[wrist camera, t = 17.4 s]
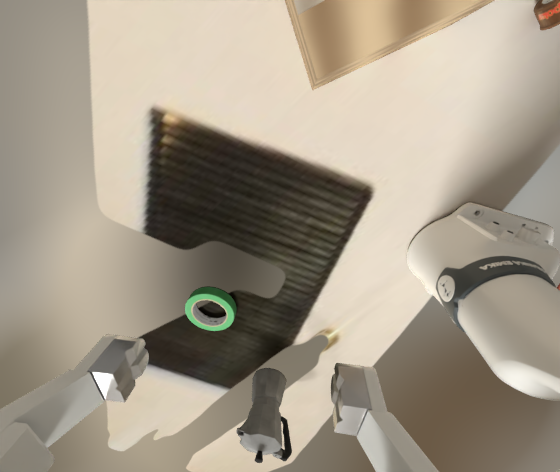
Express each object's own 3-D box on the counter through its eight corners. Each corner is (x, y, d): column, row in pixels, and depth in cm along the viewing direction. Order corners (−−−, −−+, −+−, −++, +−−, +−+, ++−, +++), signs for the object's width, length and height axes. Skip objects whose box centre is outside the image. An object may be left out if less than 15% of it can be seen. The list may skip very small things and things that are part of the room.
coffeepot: (240, 373, 67) (220, 456, 51) (261, 358, 63) (247, 442, 48) (282, 399, 71) (275, 483, 55) (305, 386, 67) (304, 472, 51)
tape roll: (239, 291, 54) (236, 300, 52) (234, 326, 59) (231, 335, 57) (189, 281, 54) (184, 289, 52) (189, 316, 59) (184, 325, 57)
